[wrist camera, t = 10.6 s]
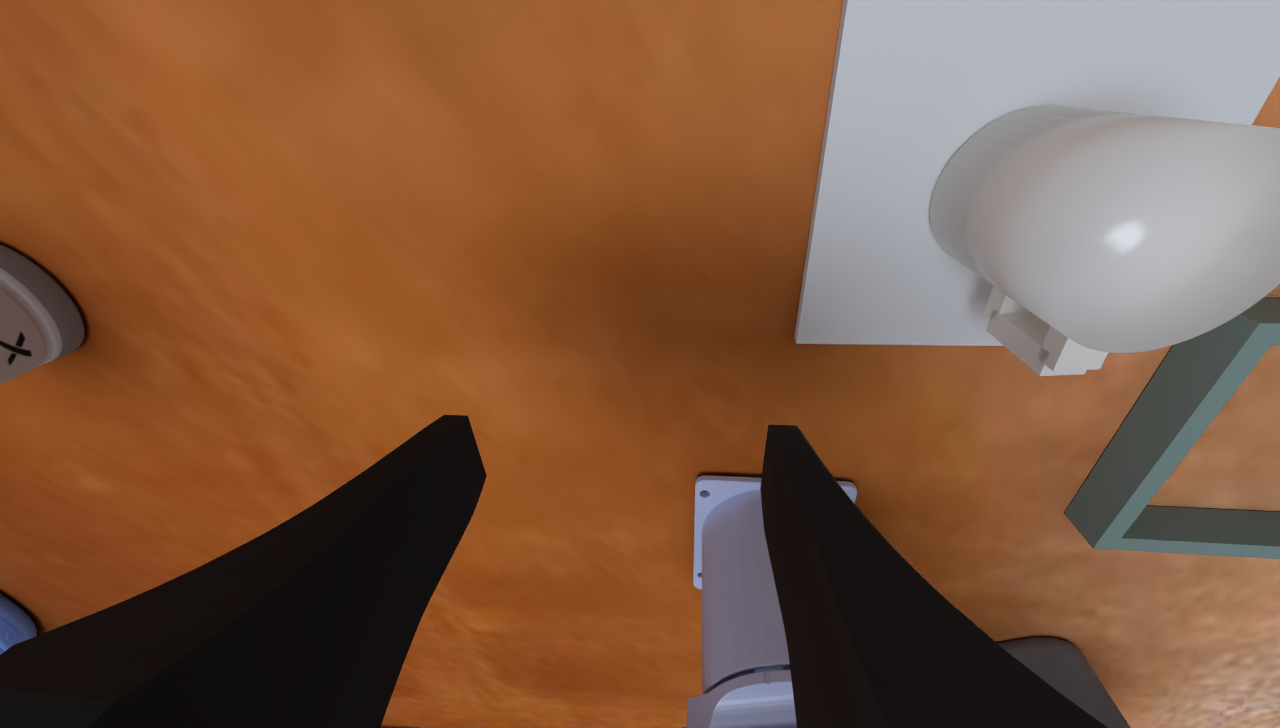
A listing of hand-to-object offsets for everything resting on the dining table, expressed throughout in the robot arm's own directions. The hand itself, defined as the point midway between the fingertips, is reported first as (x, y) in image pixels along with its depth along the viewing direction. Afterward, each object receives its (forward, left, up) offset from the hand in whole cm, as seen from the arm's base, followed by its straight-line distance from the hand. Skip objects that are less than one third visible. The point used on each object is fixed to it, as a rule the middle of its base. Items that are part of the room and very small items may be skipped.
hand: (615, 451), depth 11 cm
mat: (+4, -12, -9) cm, 16 cm away
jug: (+4, -12, -9) cm, 15 cm away
